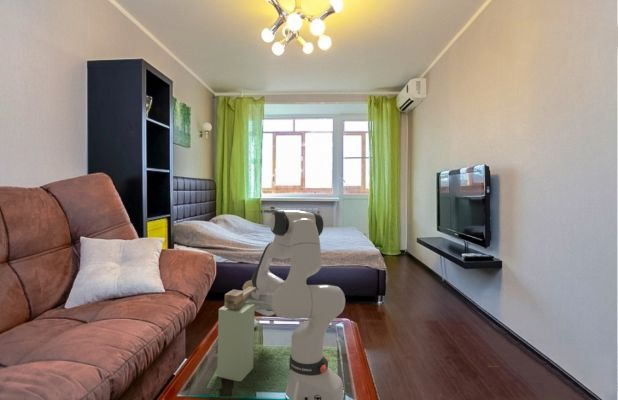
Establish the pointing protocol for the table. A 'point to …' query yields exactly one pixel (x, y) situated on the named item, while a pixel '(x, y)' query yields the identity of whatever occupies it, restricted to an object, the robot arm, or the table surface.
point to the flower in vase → (246, 285)
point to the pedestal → (235, 342)
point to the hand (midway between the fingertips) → (246, 293)
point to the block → (238, 298)
